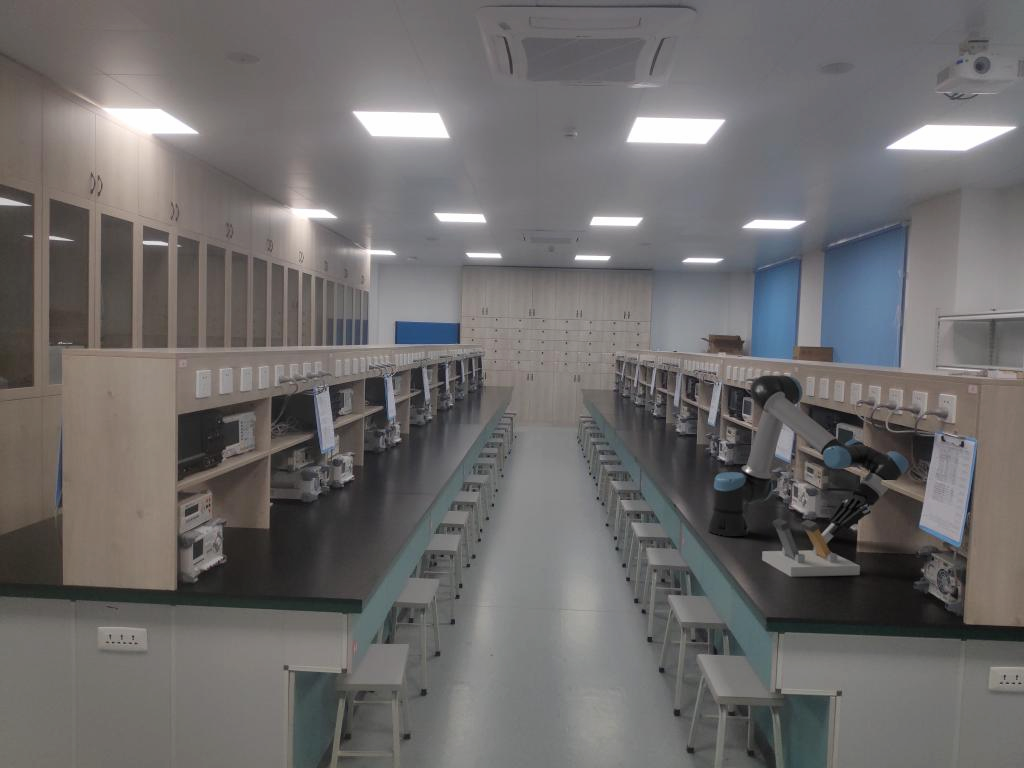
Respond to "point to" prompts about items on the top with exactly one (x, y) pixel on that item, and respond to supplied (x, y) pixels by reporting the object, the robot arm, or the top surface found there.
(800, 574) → the control panel
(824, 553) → the orange lever
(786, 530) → the grey lever
